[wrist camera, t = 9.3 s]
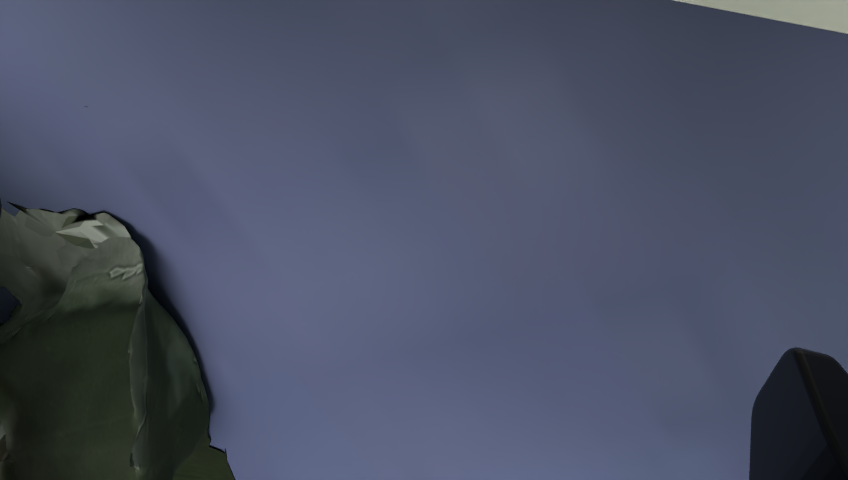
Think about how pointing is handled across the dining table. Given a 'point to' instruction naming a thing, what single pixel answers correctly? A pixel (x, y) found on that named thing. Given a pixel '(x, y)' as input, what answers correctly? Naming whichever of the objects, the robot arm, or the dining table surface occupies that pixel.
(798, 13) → the board
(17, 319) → the rose bouquet
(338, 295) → the dining table surface
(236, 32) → the dining table surface
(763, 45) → the dining table surface
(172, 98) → the dining table surface
